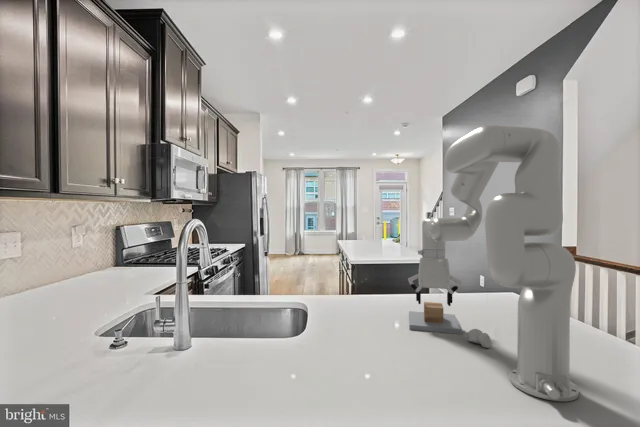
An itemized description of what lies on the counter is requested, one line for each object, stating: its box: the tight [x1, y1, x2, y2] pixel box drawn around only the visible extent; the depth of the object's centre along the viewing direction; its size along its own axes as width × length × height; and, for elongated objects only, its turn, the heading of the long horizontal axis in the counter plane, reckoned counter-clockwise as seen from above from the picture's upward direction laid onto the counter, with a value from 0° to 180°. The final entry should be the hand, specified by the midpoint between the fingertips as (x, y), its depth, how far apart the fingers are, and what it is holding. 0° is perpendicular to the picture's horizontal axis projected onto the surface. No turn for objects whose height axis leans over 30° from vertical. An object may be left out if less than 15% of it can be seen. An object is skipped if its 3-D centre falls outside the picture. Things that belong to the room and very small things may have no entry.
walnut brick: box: [423, 301, 444, 323], centre depth 115 cm, size 7×6×5 cm
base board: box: [408, 310, 463, 335], centre depth 115 cm, size 16×16×2 cm
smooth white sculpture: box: [467, 328, 492, 349], centre depth 97 cm, size 4×8×5 cm
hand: (433, 304), depth 114 cm, fingers open, 9 cm apart
